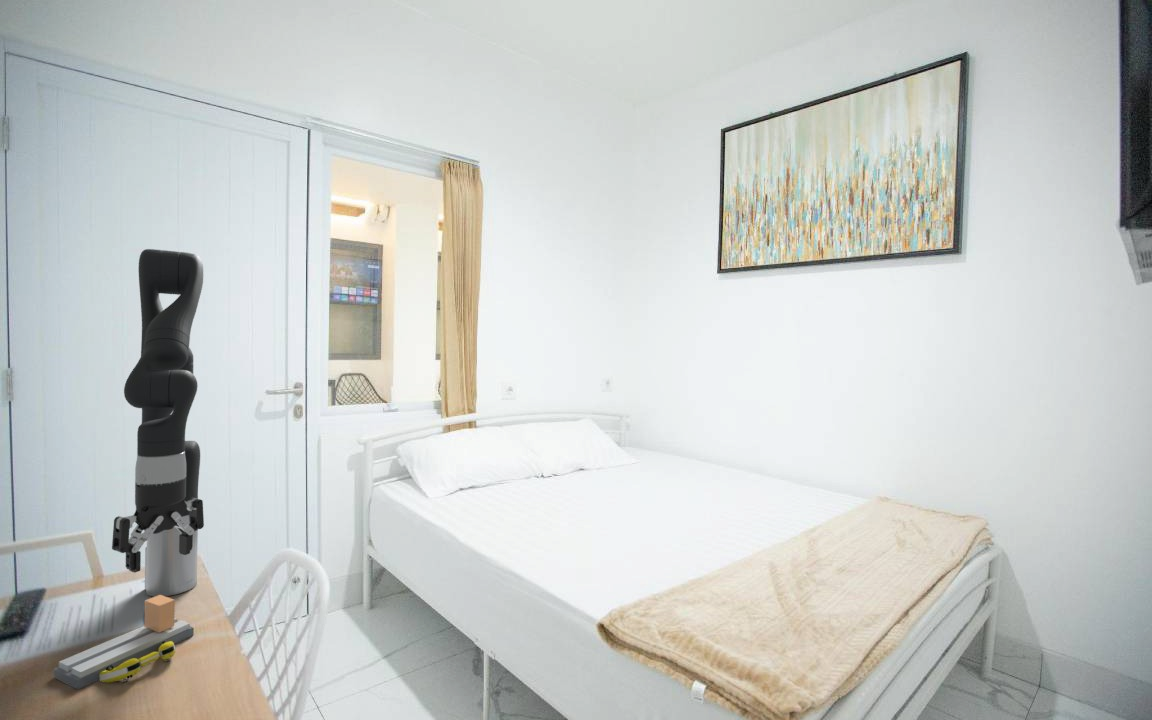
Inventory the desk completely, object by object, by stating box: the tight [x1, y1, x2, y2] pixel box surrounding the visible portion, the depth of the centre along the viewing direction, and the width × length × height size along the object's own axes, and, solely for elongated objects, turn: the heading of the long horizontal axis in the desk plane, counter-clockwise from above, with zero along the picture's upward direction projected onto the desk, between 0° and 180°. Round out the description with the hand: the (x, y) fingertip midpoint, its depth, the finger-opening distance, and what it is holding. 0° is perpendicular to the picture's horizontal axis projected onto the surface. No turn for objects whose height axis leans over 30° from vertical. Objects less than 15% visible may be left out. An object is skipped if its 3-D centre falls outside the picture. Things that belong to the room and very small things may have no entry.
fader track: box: [53, 617, 194, 690], centre depth 97 cm, size 18×7×3 cm, turn 157°
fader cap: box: [144, 595, 176, 632], centre depth 101 cm, size 3×4×6 cm, turn 67°
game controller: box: [99, 641, 176, 683], centre depth 93 cm, size 10×6×4 cm, turn 157°
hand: (160, 562), depth 101 cm, fingers open, 8 cm apart
